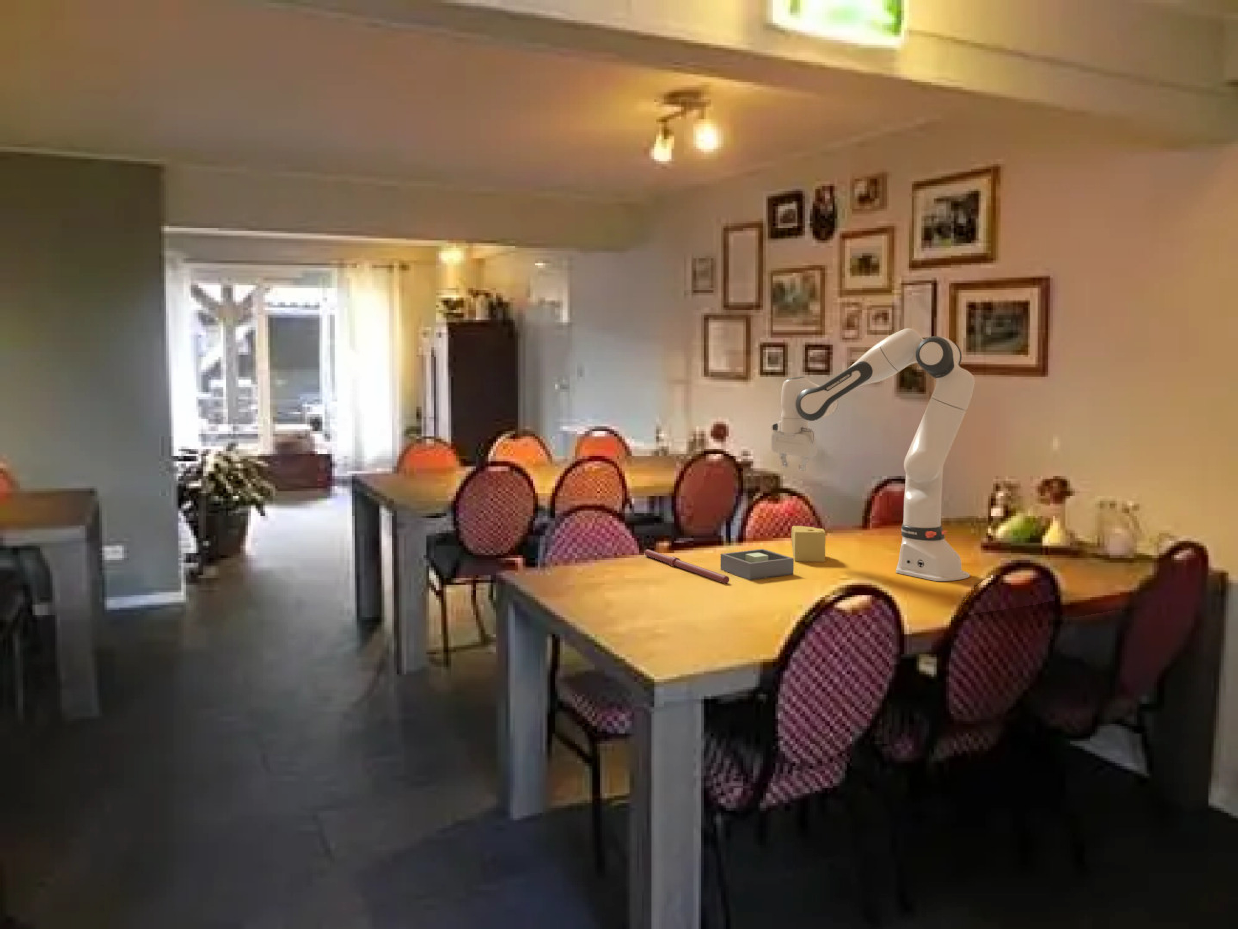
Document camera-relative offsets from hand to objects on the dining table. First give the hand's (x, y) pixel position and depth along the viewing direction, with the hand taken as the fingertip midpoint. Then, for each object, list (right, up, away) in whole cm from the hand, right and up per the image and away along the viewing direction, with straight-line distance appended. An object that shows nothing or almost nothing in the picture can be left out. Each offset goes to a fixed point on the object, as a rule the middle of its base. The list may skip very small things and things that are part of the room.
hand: (793, 468), depth 329 cm
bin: (-15, -32, -20) cm, 40 cm away
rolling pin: (-37, -32, -15) cm, 51 cm away
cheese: (+5, -30, -1) cm, 30 cm away
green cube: (-15, -31, -20) cm, 40 cm away
